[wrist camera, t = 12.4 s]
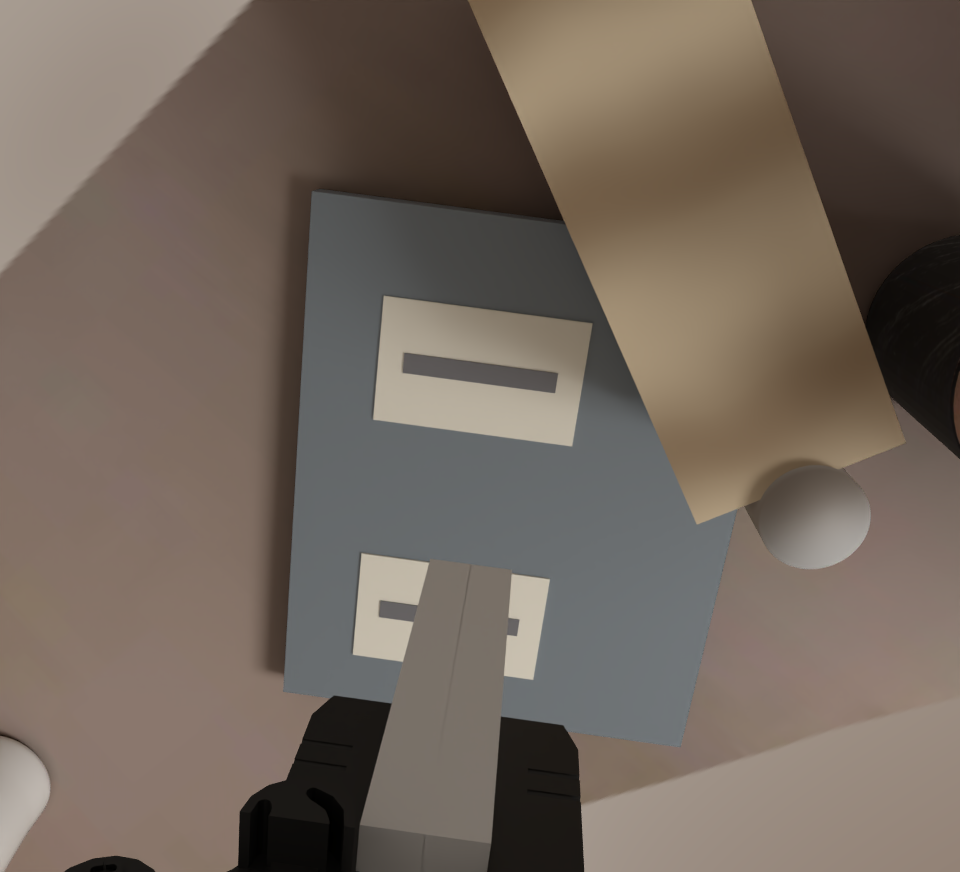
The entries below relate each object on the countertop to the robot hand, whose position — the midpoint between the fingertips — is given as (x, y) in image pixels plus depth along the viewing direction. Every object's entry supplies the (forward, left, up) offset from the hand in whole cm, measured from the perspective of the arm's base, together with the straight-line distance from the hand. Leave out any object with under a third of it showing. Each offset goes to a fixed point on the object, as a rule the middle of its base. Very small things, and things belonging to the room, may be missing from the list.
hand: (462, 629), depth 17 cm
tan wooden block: (-5, -6, -18) cm, 20 cm away
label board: (-1, +6, -21) cm, 21 cm away
